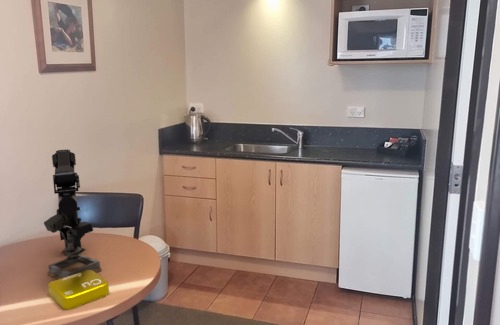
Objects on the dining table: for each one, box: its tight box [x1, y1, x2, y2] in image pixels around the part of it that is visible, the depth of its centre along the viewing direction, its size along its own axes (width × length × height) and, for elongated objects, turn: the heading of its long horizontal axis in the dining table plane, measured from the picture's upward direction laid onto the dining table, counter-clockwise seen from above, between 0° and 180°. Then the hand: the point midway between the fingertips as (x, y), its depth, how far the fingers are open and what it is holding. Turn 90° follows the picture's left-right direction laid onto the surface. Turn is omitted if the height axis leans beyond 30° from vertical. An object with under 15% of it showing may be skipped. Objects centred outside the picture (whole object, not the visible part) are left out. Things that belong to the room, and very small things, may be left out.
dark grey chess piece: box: [63, 228, 82, 262], centre depth 158 cm, size 6×6×12 cm
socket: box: [47, 253, 102, 280], centre depth 159 cm, size 13×13×4 cm
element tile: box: [48, 270, 110, 311], centre depth 145 cm, size 15×15×5 cm
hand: (72, 247), depth 158 cm, fingers closed on dark grey chess piece, 3 cm apart
